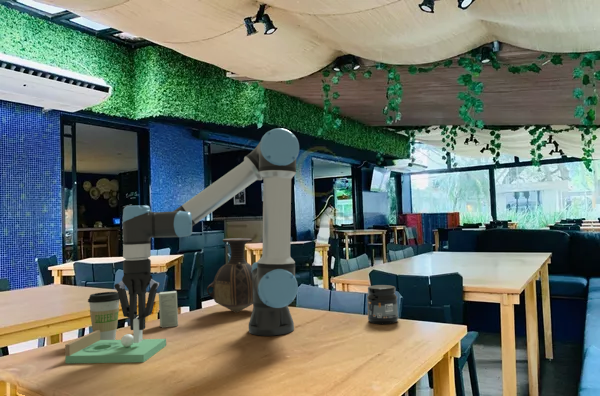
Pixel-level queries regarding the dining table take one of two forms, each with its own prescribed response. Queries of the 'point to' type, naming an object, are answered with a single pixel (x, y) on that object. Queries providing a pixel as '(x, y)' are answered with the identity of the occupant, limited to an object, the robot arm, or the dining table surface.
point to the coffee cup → (104, 313)
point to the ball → (127, 340)
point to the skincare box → (168, 309)
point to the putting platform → (110, 350)
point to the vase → (234, 279)
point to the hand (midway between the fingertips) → (138, 341)
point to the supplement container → (382, 304)
